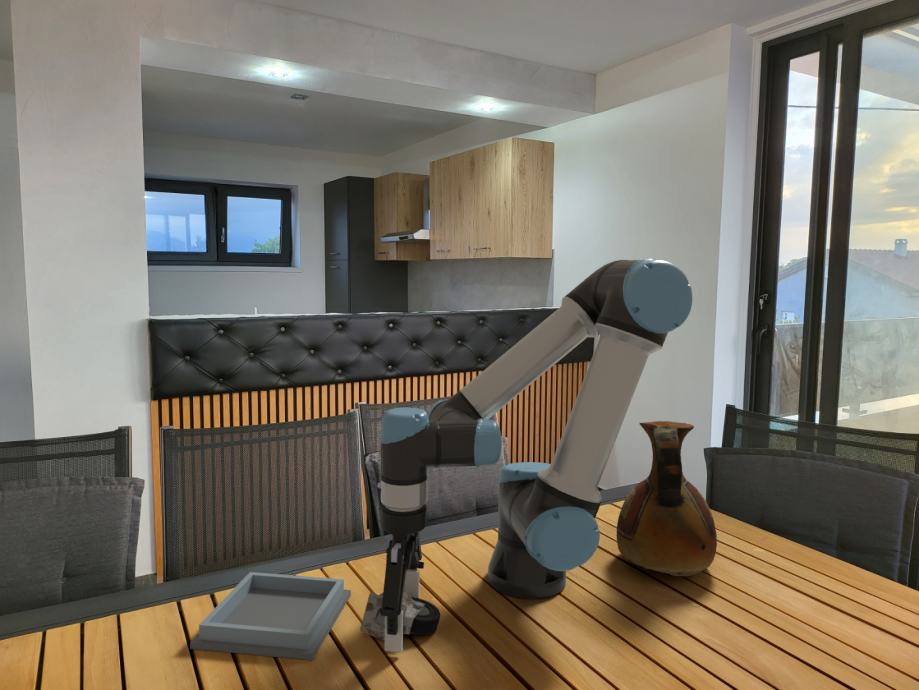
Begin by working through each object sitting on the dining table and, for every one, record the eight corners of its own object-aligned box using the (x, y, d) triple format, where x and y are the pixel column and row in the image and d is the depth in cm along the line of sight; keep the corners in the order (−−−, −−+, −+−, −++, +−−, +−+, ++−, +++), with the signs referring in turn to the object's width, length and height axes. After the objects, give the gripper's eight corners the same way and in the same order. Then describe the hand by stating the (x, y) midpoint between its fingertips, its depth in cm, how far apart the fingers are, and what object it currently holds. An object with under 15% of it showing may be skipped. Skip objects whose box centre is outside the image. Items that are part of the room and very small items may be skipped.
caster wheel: (439, 633, 111) (422, 658, 101) (380, 610, 114) (358, 632, 104) (449, 596, 111) (433, 617, 101) (390, 574, 113) (368, 592, 104)
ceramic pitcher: (704, 548, 141) (712, 414, 137) (725, 593, 121) (735, 438, 117) (612, 540, 144) (618, 409, 140) (618, 583, 124) (625, 432, 121)
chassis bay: (350, 595, 118) (350, 577, 118) (312, 660, 98) (312, 638, 98) (247, 586, 121) (247, 569, 120) (190, 648, 101) (189, 627, 101)
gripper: (398, 477, 117) (397, 588, 119) (359, 533, 92) (360, 670, 95) (438, 480, 116) (437, 591, 119) (410, 536, 91) (409, 675, 94)
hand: (403, 626), depth 107 cm, fingers open, 13 cm apart
